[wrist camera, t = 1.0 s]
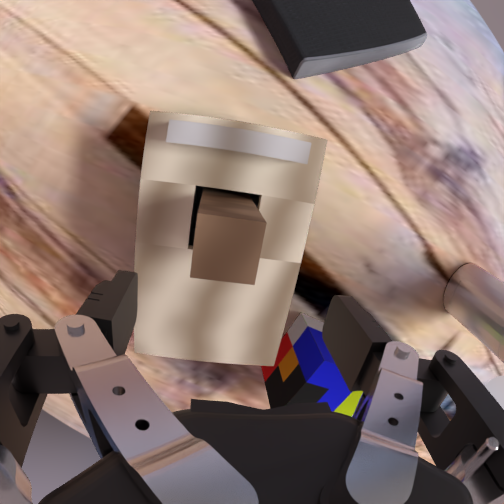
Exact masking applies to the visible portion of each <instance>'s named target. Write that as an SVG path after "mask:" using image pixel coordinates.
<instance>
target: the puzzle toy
mask: <svg viewBox="0 0 504 504" xmlns="http://www.w3.org/2000/svg"><path fill="white" fill-rule="evenodd" d="M323 325H324V322H322V321H319V320H317V319H315V318H313V317H310V316H308V315H306V314H304V313H300V314H299V316H298V317H297V319H296V320H295V321H294V323H293V324H292V326H291V327H290V328H289V330H288V331H287V333H286V334H285V335H284V337H283V338H282V340H281V342H280V346H279V349H278V353H277V356H276V360H275V363H274V366H261V368H262V372H263V377H264V381H265V386H266V390H267V395H268V399H269V404H270V408H271V409H272V408H277V407H282V406H286V405H291V404H295V403H316V402H328V404H329V407H330V409H331V411H333V412H338V413H342V414H345V415H348V416H352V415H353V414H354V412H355V409H356V407H357V404H358V402H359V399H360V397H361V396H362V394H363V391H352V392H350V391H349V389H348V387H347V385H346V383H345V381H344V379H343V377H342V375H341V373H340V371H339V370H338V368H337V366H336V364H335V362H334V360H333V358H332V356H331V354H330V352H329V350H328V349H327V347H326V345H325V343H324V341H323V338H322V329H323Z"/></svg>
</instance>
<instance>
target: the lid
mask: <svg viewBox="0 0 504 504" xmlns="http://www.w3.org/2000/svg"><path fill="white" fill-rule="evenodd" d="M326 145H327V140H326V139H322V138H318V137H314V136H310V135H305V134H301V133H297V132H292V131H287V130H283V129H278V128H273V127H268V126H262V125H257V124H251V123H246V122H240V121H234V120H227V119H220V118H213V117H206V116H198V115H190V114H181V113H171V112H160V111H150V115H149V121H148V127H147V133H146V140H145V147H144V154H143V162H142V170H141V179H140V188H139V199H138V210H137V223H136V238H135V259H134V272H136V273H137V274H138V308H137V318H136V323H135V326H134V349H135V353H141V354H148V355H155V356H162V357H170V358H178V359H186V360H195V361H205V362H216V363H228V364H242V365H259V366H274V363H275V360H276V356H277V353H278V349H279V346H280V342H281V338H282V335H283V331H284V327H285V324H286V320H287V316H288V312H289V308H290V304H291V301H292V297H293V293H294V289H295V285H296V281H297V277H298V273H299V269H300V265H301V260H302V256H303V252H304V248H305V244H306V239H307V235H308V231H309V226H310V222H311V217H312V213H313V208H314V204H315V199H316V194H317V190H318V185H319V180H320V175H321V170H322V165H323V160H324V155H325V150H326ZM196 186H203V187H211V188H218V189H225V190H232V191H239V192H245V193H252V194H258V195H260V196H259V202H258V207H257V208H258V210H259V211H260V213H261V215H262V216H263V218H264V219H265V221H266V222H267V224H266V229H265V234H264V239H263V244H262V250H261V255H260V260H259V265H258V270H257V275H256V280H255V285H249V284H240V283H231V282H222V281H214V280H206V279H197V278H190V271H191V262H192V253H193V246H192V245H188V244H189V236H190V227H191V219H192V212H193V204H194V197H195V190H196Z"/></svg>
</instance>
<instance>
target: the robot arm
mask: <svg viewBox="0 0 504 504" xmlns="http://www.w3.org/2000/svg"><path fill="white" fill-rule="evenodd" d="M444 307H445V309H446V311H448V312H449V313H450V314H451V315H452V316H453V317H454V318H455V319H457V320H458V321H459V322H460V323H461V324H462V325H463V326H464V327H465V328H467V329H468V330H469V331H470V332H471V333H472V334H473V335H474V336H475V337H477V338H478V339H479V340H480V341H481V342H482V343H483V344H484V345H485V346H486V347H487V348H488V349H490V350H491V351H492V352H493V353H494V354H495V355H496V356H497V357H498V358H499V359H500V360H501V361H502V362H503V363H504V282H503V281H502V280H500V279H498V278H497V277H495V276H494V275H492V274H491V273H489V272H487V271H486V270H484V269H482V268H481V267H479V266H477V265H476V264H473V263H468V264H465V265H463V266H462V267H460V268H459V269H458V270H457V271H456V272H455V273H454V275H453V276H452V277H451V279H450V281H449V282H448V285H447V287H446V290H445V293H444ZM137 308H138V274H137V273H136V272H129V271H122V270H119V271H118V272H117V274H116V275H115V277H114V278H113V280H112V281H106V280H105V281H103V282H101V283H99V284H98V285H96V286H95V288H94V289H93V290H92V292H91V293H90V295H89V296H88V298H87V299H86V300H85V302H84V303H83V305H82V306H81V308H80V309H79V311H78V312H77V314H76V315H69V316H66V317H63V318H61V319H60V320H59V321H58V322H57V323H56V324H55V329H32V324H31V321H30V319H29V318H28V317H26V316H24V315H20V314H10V315H6V316H3V317H1V318H0V504H33V503H32V498H31V491H32V488H31V483H30V480H29V478H28V477H27V475H26V474H25V472H24V471H23V470H22V465H23V461H24V458H25V455H26V452H27V449H28V446H29V443H30V440H31V436H32V434H33V431H34V428H35V425H36V423H37V420H38V417H39V415H40V412H41V409H42V407H43V404H44V402H45V399H46V397H47V394H64V393H69V394H70V397H71V399H72V401H73V403H74V406H75V408H76V410H77V412H78V414H79V416H80V418H81V420H82V422H83V424H84V426H85V428H86V430H87V432H88V434H89V436H90V438H91V440H92V442H93V445H94V447H95V449H96V451H97V453H98V455H99V457H100V458H101V459H100V460H99V461H98V462H96V463H95V464H93V465H92V466H91V467H89V468H87V469H86V470H84V471H83V472H81V473H80V474H78V475H77V476H75V477H74V478H72V479H71V480H70V481H68V482H67V483H65V484H63V485H62V486H60V487H59V488H57V489H55V490H54V491H52V492H51V493H49V494H48V495H46V496H45V497H44V498H43V499H42V500H41V501H40V502H39V503H38V504H502V503H503V502H504V410H503V409H502V407H501V406H500V405H499V403H498V402H497V401H496V400H495V399H494V397H493V396H492V395H491V394H490V392H488V390H487V389H486V388H485V386H484V385H483V384H482V383H481V382H480V380H479V379H478V378H477V377H476V376H475V375H474V373H473V372H472V371H471V370H470V369H469V368H468V366H467V365H466V364H465V363H464V362H463V361H462V360H461V358H460V357H458V356H457V355H456V354H454V353H452V352H450V351H446V350H438V351H437V352H436V353H435V355H434V357H433V359H432V360H426V359H420V358H419V355H418V353H417V352H416V350H415V349H414V348H412V347H411V346H409V345H407V344H405V343H402V342H398V341H392V340H391V339H390V337H389V336H388V335H387V334H386V333H385V331H384V330H383V329H382V328H380V325H379V324H378V323H377V322H376V320H375V319H374V318H373V317H372V316H371V314H369V313H368V312H366V311H365V310H364V309H362V308H361V307H360V305H359V304H358V303H357V302H356V301H355V299H354V298H353V297H352V296H341V295H335V296H334V297H333V298H332V300H331V303H330V306H329V309H328V313H327V316H326V319H325V322H324V325H323V329H322V338H323V341H324V343H325V345H326V347H327V349H328V350H329V352H330V354H331V356H332V358H333V360H334V362H335V364H336V366H337V368H338V370H339V371H340V373H341V375H342V377H343V379H344V381H345V383H346V385H347V387H348V389H349V391H350V392H352V391H363V394H362V396H361V397H360V399H359V402H358V404H357V407H356V409H355V412H354V414H353V416H352V417H351V416H348V415H345V414H342V413H338V412H333V411H331V409H330V407H329V404H328V402H316V403H295V404H291V405H286V406H282V407H277V408H272V409H266V410H262V409H257V408H252V407H247V406H243V405H238V404H234V403H230V402H222V401H208V400H196V399H191V407H190V409H187V410H180V411H175V412H171V411H170V410H169V409H168V408H167V406H166V405H165V404H164V403H163V402H162V400H161V399H160V398H159V397H158V396H157V394H156V393H155V392H154V391H153V389H152V388H151V387H150V385H149V384H148V383H147V382H146V380H145V379H144V378H143V376H142V375H141V374H140V372H139V371H138V370H137V368H136V367H135V366H134V364H133V363H132V362H131V360H130V359H129V358H128V356H127V355H125V351H126V348H127V345H128V342H129V340H130V337H131V334H132V331H133V328H134V326H135V323H136V318H137ZM447 394H449V395H450V397H451V398H452V399H453V401H454V402H455V404H456V414H455V416H454V417H453V419H452V420H451V421H450V420H449V419H448V417H447V416H446V414H445V413H444V411H443V410H442V408H441V407H440V405H441V403H442V402H443V400H444V399H445V397H446V396H447ZM417 432H418V433H419V435H420V437H421V438H422V440H423V442H424V444H425V446H426V448H427V449H428V451H429V453H430V455H431V457H432V459H433V461H434V463H435V465H436V466H437V467H436V466H435V465H433V464H431V463H429V462H427V461H426V460H424V459H422V458H420V457H419V456H418V452H416V451H415V444H416V438H417Z"/></svg>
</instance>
